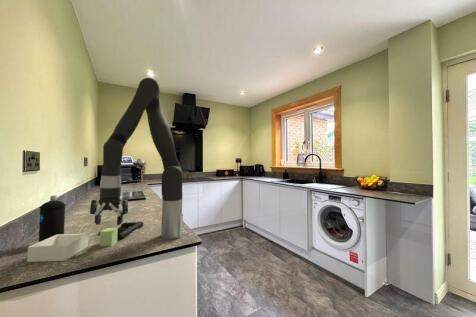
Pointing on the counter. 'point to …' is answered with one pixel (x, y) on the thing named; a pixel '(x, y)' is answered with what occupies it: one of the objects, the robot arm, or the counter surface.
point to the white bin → (57, 247)
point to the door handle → (128, 229)
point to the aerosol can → (51, 218)
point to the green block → (108, 236)
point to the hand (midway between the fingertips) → (108, 224)
